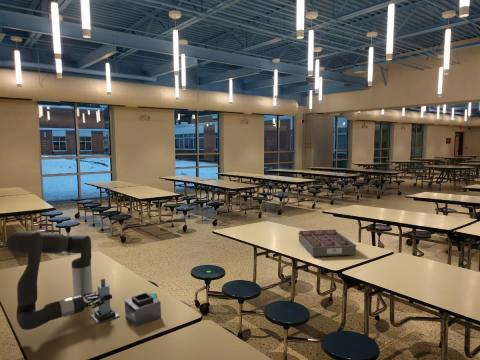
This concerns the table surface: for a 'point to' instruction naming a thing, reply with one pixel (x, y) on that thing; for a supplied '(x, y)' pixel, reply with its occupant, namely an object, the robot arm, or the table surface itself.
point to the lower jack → (104, 316)
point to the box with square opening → (142, 309)
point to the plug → (103, 291)
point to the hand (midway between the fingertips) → (109, 294)
